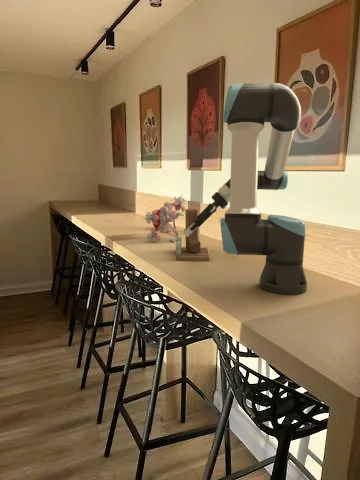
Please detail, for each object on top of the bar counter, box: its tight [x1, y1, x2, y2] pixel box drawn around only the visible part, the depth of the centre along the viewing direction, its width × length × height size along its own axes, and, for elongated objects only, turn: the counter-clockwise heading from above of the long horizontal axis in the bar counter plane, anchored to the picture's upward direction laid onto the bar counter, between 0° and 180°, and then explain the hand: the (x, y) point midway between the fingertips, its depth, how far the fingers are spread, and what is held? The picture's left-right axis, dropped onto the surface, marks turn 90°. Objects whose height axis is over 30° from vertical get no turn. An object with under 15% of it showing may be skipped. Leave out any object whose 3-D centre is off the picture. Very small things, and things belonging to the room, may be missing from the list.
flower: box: [142, 194, 186, 244], centre depth 198 cm, size 20×22×25 cm
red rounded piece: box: [151, 208, 163, 231], centre depth 233 cm, size 10×10×14 cm
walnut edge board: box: [175, 236, 210, 262], centre depth 168 cm, size 20×14×6 cm
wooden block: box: [184, 208, 202, 253], centre depth 167 cm, size 9×4×18 cm, turn 14°
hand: (185, 233), depth 170 cm, fingers closed on wooden block, 6 cm apart
